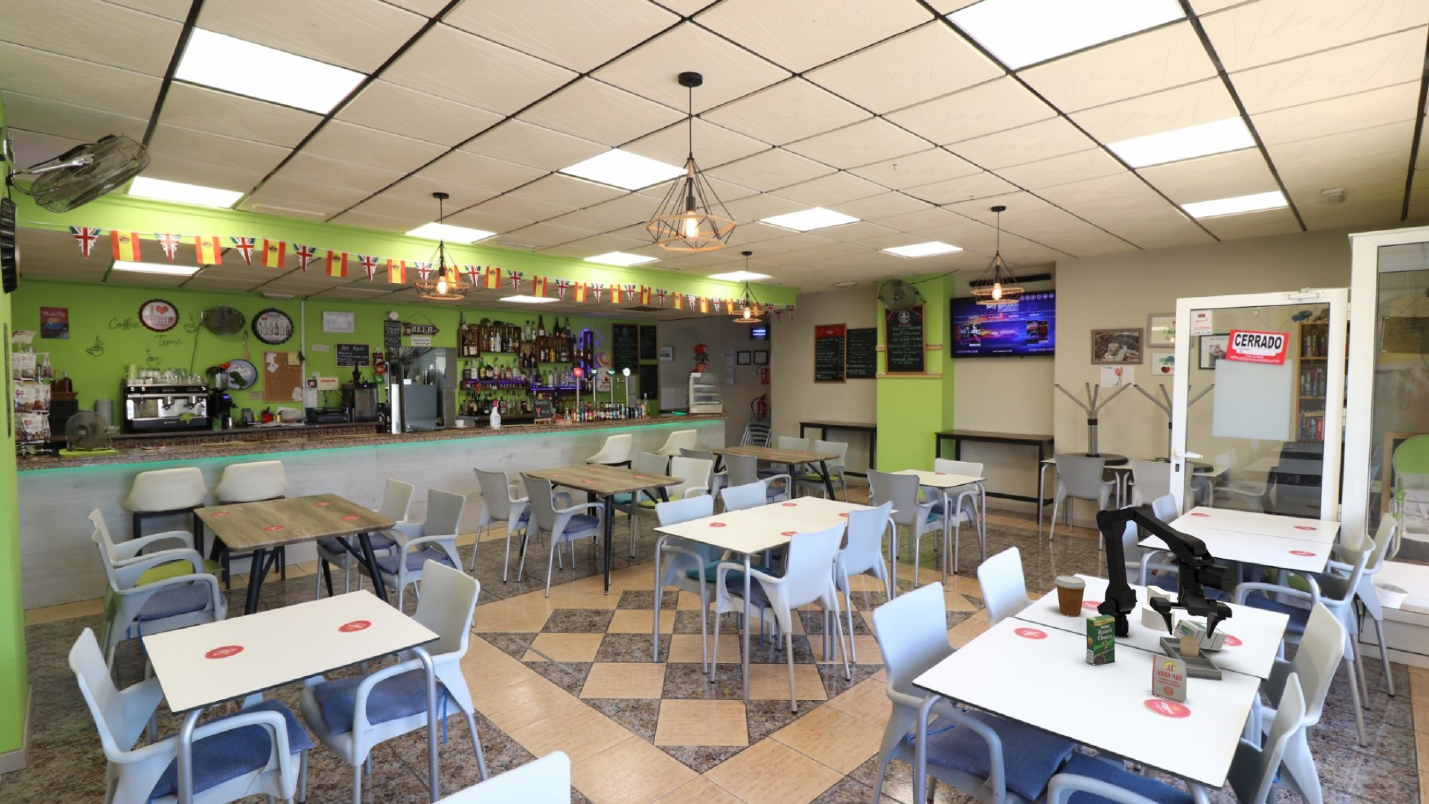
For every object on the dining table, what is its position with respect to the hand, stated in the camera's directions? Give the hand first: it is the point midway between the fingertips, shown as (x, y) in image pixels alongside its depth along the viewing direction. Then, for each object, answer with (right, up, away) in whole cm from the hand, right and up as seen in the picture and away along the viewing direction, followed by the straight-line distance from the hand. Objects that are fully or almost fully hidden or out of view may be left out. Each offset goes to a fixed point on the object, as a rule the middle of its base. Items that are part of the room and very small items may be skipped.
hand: (1189, 636), depth 193 cm
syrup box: (+15, -4, +10) cm, 18 cm away
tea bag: (-20, -8, -20) cm, 30 cm away
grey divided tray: (0, -7, 0) cm, 7 cm away
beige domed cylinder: (0, -6, 0) cm, 6 cm away
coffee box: (-25, -8, 0) cm, 26 cm away
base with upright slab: (+9, -7, +28) cm, 30 cm away
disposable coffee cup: (-13, -6, +41) cm, 43 cm away
